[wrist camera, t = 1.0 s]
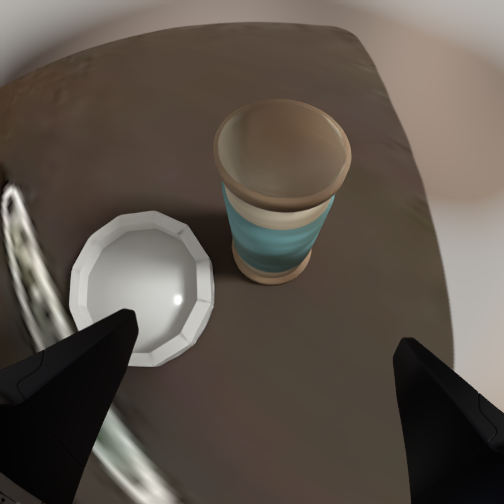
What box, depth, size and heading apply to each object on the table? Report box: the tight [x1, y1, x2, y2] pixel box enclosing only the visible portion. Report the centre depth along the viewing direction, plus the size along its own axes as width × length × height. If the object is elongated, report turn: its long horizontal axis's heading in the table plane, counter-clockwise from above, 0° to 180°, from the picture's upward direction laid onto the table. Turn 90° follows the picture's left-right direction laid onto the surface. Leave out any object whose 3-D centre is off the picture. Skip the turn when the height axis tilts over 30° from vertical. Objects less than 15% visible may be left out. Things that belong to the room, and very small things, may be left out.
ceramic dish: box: [69, 211, 215, 367], centre depth 22 cm, size 12×12×2 cm
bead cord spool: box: [213, 99, 351, 286], centre depth 18 cm, size 6×6×13 cm
